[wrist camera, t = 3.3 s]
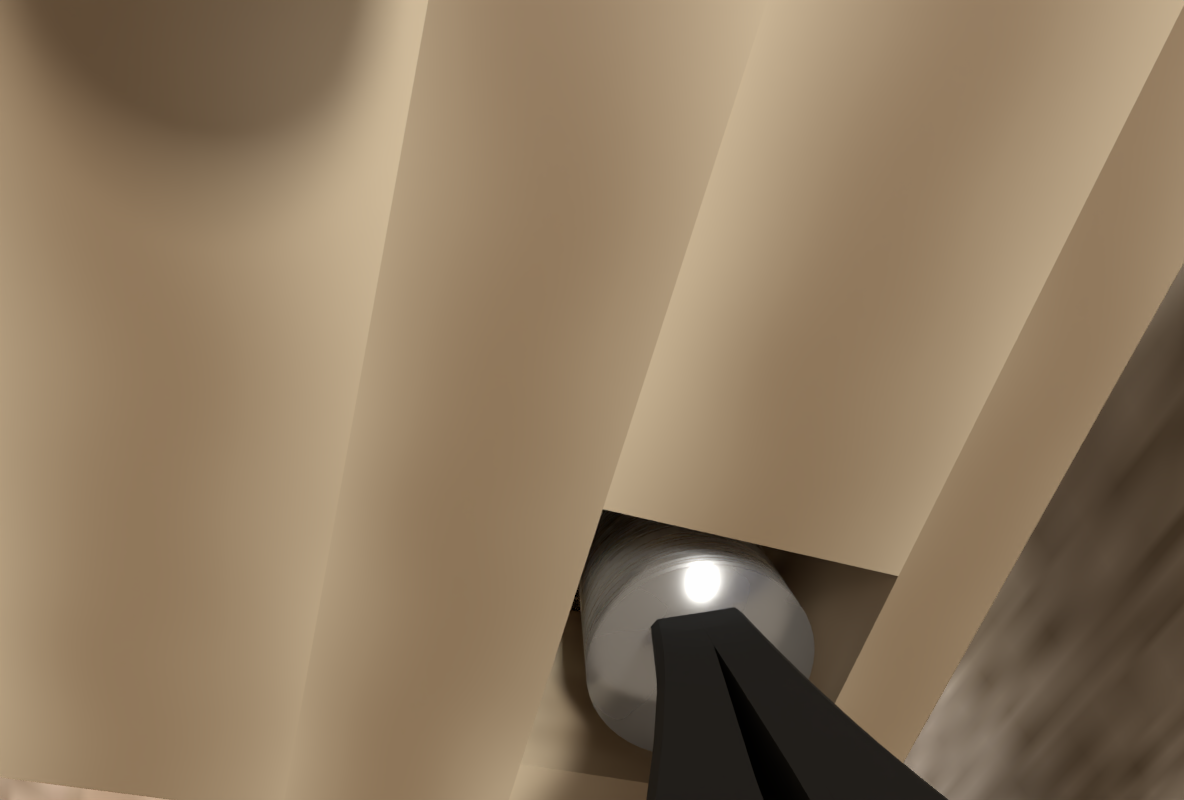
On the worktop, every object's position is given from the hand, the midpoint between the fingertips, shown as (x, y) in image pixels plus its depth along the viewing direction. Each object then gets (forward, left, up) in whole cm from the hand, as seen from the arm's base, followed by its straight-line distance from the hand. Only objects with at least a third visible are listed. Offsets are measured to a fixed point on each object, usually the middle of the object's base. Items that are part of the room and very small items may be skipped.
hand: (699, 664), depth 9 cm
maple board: (+3, -5, -4) cm, 7 cm away
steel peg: (0, 0, -3) cm, 3 cm away
